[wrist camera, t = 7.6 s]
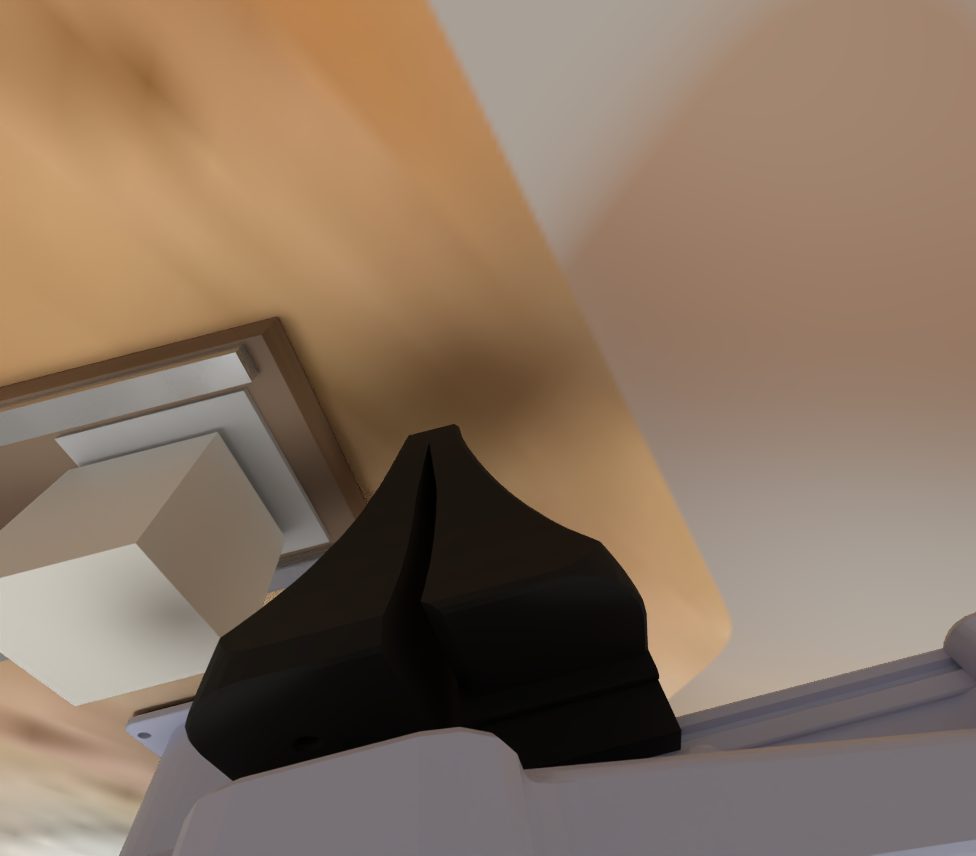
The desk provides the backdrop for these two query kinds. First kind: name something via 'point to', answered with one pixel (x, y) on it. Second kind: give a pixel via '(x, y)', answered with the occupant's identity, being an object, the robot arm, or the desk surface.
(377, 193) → the desk surface
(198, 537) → the off-white matte cube
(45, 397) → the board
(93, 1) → the desk surface
